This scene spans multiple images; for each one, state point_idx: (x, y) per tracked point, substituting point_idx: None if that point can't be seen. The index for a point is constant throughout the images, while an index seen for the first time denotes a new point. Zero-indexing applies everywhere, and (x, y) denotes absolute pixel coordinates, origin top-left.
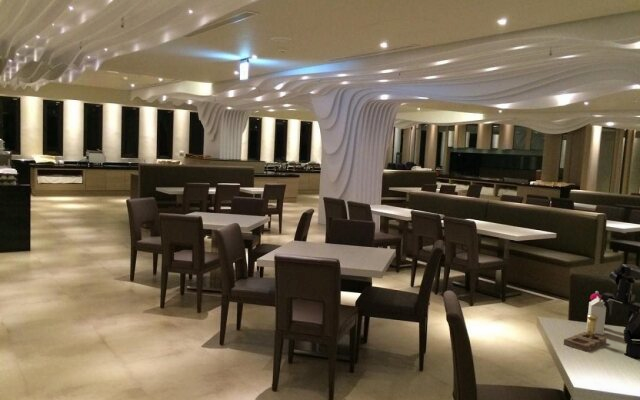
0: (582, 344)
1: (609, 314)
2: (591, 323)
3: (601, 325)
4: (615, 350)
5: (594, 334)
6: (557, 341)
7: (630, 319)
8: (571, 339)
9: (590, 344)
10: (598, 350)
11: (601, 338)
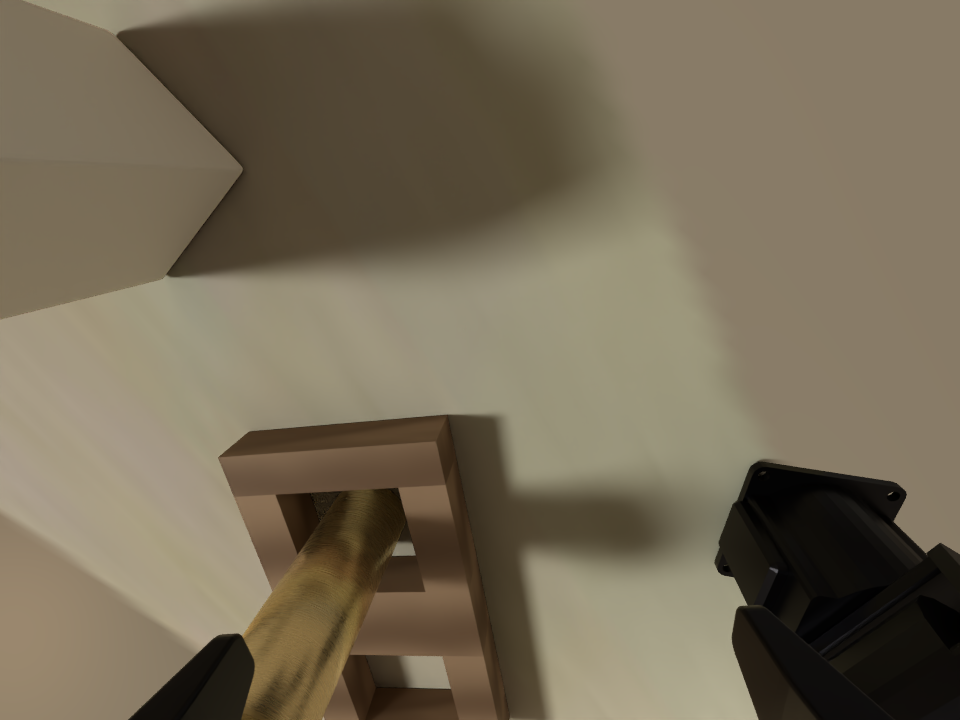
0: None
1: (247, 677)
2: None
3: (134, 195)
4: (611, 523)
5: (377, 581)
6: None
7: (824, 676)
8: (354, 716)
9: (491, 707)
10: (538, 634)
11: (421, 494)
